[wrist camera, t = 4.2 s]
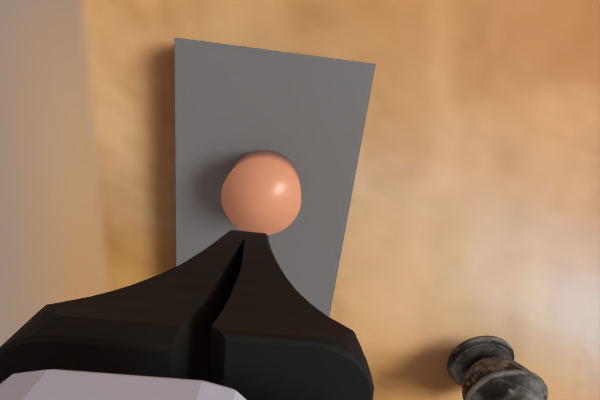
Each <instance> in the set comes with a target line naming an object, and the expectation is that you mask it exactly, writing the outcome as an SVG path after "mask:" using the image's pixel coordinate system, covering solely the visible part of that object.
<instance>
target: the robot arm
mask: <svg viewBox="0 0 600 400" xmlns="http://www.w3.org/2000/svg"><path fill="white" fill-rule="evenodd" d="M373 392H374V386H373V382H372V377H371V373H370V369H369V366H368V363H367V360H366V358H365V356H364V353H363V351H362V348H361V346H360V344H359V342H358V339H357V337H356V335H355V333H354V331H352V330H351V329H349V328H347V327H345V326H344V325H342V324H340V323H338V322H337V321H335V320H333V319H331V318H330V317H328V316H327V315H325V314H324V313H323V312H321V311H320V310H318V309H317V308H316V307H314V306H313V305H312V304H311V303H309V302H308V301H307V300H306V299H305V298H304V297H303V296H302V295H301V294H300V293H299V292H298V291H297V290H296V289H295V288H294V286H293V285H292V284H291V283H290V281H289V280H288V279H287V277H286V276H285V274H284V273H283V271H282V269H281V268H280V266H279V264H278V262H277V260H276V258H275V256H274V254H273V252H272V249H271V247H270V243H269V237H268V235H267V234H266V233H258V232H248V231H238V230H230V231H229V232H227V233H226V234H225V235H223V236H222V237H221V238H219V239H218V240H217V241H215V242H214V243H213V244H211V245H210V246H209V247H207V248H206V249H204V250H203V251H202V252H200V253H198V254H197V255H195V256H194V257H192V258H190V259H189V260H187V261H186V262H184V263H182V264H180V265H178V266H176V267H174V268H172V269H170V270H168V271H166V272H164V273H162V274H160V275H157V276H155V277H152V278H149V279H147V280H144V281H141V282H139V283H136V284H134V285H131V286H128V287H124V288H121V289H118V290H114V291H110V292H107V293H103V294H99V295H95V296H91V297H86V298H81V299H76V300H70V301H65V302H60V303H55V304H49V305H46V306H45V307H43V308H42V309H41V310H40V311H39V312H38V313H36V315H34V316H33V317H32V318H31V319H30V320H29V321H28V322H27V323H26V324H25V325H23V326H22V327H21V328H20V329H19V330H18V331H17V332H16V333H15V334H14V335H13V336H12V337H11V338H10V339H8V340H7V341H6V342H5V343H4V344H3V345H2V346H1V347H0V400H373Z"/></svg>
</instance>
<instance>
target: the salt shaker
mask: <svg viewBox="0 0 600 400" xmlns="http://www.w3.org/2000/svg"><path fill="white" fill-rule="evenodd" d="M448 371H449V374H450V376H451V377H452V379H453V380H454V381H455V382H457V383H458V384H460V385H462V394H463V400H547V397H548V390H547V386H546V384H545V383H544V381H543V380H542V378H540V377H539V376H538V375H536V374H535V373H533V372H530V371H529V370H528V369H526V368H525V367H524V366H522V365H520V364H519V363H517V362H515V361H514V353H513V349H512V348H511V347H510V345H509V344H508V343H507V342H506V341H504V340H503V339H500V338H497V337H493V336H481V337H476V338H473V339H469V340H467V341H466V342H464V343H462V344H461V345H459V346H458V347H457V348H456V349H455V350H454V351H453V353H452V354H451V355H450V358H449V360H448Z"/></svg>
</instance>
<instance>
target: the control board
mask: <svg viewBox="0 0 600 400" xmlns="http://www.w3.org/2000/svg"><path fill="white" fill-rule="evenodd" d="M375 65H376V64H371V63H364V62H356V61H349V60H341V59H333V58H326V57H318V56H310V55H303V54H295V53H288V52H280V51H272V50H265V49H257V48H250V47H242V46H234V45H227V44H219V43H212V42H204V41H196V40H189V39H181V38H175V162H176V266H178V265H180V264H182V263H184V262H186V261H187V260H189V259H190V258H192V257H194V256H195V255H197V254H198V253H200V252H202V251H203V250H204V249H206V248H207V247H209V246H210V245H211V244H213V243H214V242H215V241H217V240H218V239H219V238H221V237H222V236H223V235H225V234H226V233H227V232H229V231H230V230H238V231H243V230H241V229H239V228H238V227H236V226H235V225H234V224H233V223H232V222H231V221H230V220H229V219H228V217H227V215H226V214H225V212H224V209H223V206H222V201H221V192H222V187H223V184H224V182H225V180H226V178H227V177H228V175H229V173H230V172H231V170H232V169H233V167H234V166H235V164H236V163H237V162H238V161H239V160H240V159H241V158H242V157H243V156H245V155H246V154H248V153H251V152H253V151H258V150H270V151H275V152H278V153H280V154H282V155H284V156H285V157H287V158H288V159H289V160H290V161H291V162H292V163H293V164H294V166H295V167H296V169H297V171H298V174H299V177H300V185H301V206H300V210H299V213H298V215H297V217H296V218H295V220H294V221H293V222H292V223H291V224H290V225H289V226H288V227H287V228H285V229H284V230H282V231H280V232H278V233H275V234H271V235H268V237H269V243H270V247H271V249H272V252H273V254H274V256H275V258H276V260H277V262H278V264H279V266H280V268H281V269H282V271H283V273H284V274H285V276H286V277H287V279H288V280H289V281H290V283H291V284H292V285H293V286H294V288H295V289H296V290H297V291H298V292H299V293H300V294H301V295H302V296H303V297H304V298H305V299H306V300H307V301H308V302H309V303H311V304H312V305H313V306H314V307H316V308H317V309H318V310H320V311H321V312H323V313H324V314H325V315H327V316H328V317H329V315H330V310H331V305H332V299H333V294H334V288H335V283H336V277H337V272H338V266H339V261H340V256H341V250H342V245H343V239H344V234H345V228H346V223H347V217H348V212H349V207H350V201H351V196H352V190H353V185H354V179H355V174H356V168H357V163H358V158H359V152H360V147H361V141H362V136H363V130H364V125H365V119H366V114H367V108H368V103H369V98H370V92H371V87H372V81H373V76H374V70H375Z"/></svg>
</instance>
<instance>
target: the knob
mask: <svg viewBox="0 0 600 400" xmlns="http://www.w3.org/2000/svg"><path fill="white" fill-rule="evenodd" d="M221 201H222V206H223V209H224V212H225V214H226V215H227V217H228V219H229V220H230V221H231V222H232V223H233V224H234V225H235V226H236V227H238V228H239V229H241V230H243V231H248V232H258V233H266V234H267V235H271V234H275V233H278V232H280V231H282V230H284V229H285V228H287V227H288V226H289V225H290V224H291V223H292V222H293V221H294V220H295V218H296V217H297V215H298V213H299V210H300V206H301V185H300V177H299V174H298V171H297V169H296V167H295V166H294V164H293V163H292V162H291V161H290V160H289V159H288V158H287V157H285V156H284V155H282V154H280V153H278V152H275V151H270V150H258V151H253V152H251V153H248V154H246V155H245V156H243V157H242V158H241V159H240V160H239V161H238V162H237V163H236V164H235V166H234V167H233V169H232V170H231V172H230V173H229V175H228V177H227V178H226V180H225V182H224V184H223V187H222V192H221Z"/></svg>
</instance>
